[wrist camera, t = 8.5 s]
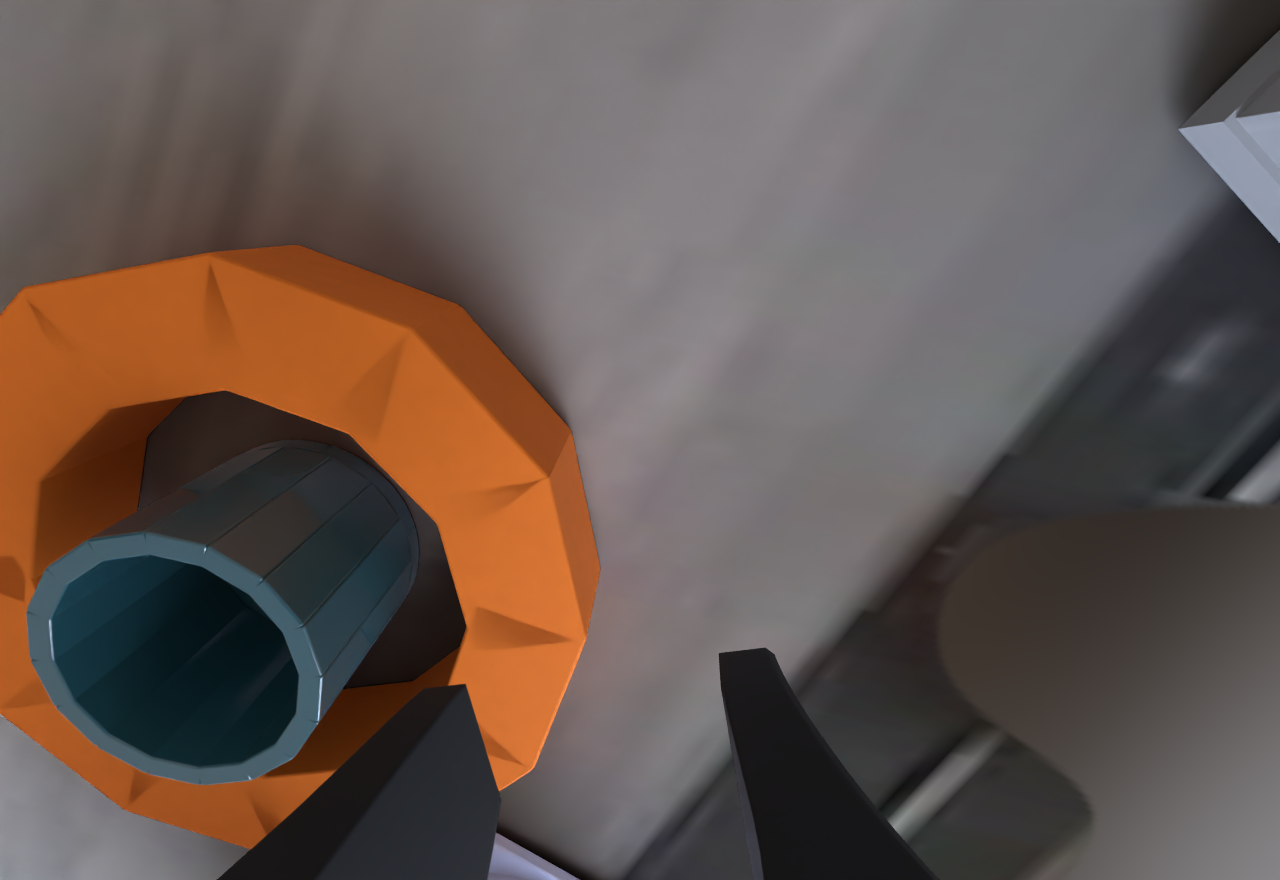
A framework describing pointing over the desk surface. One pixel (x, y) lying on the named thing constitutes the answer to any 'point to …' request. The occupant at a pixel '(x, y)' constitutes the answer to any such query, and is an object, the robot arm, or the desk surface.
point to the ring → (335, 397)
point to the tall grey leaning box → (1245, 133)
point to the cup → (225, 612)
